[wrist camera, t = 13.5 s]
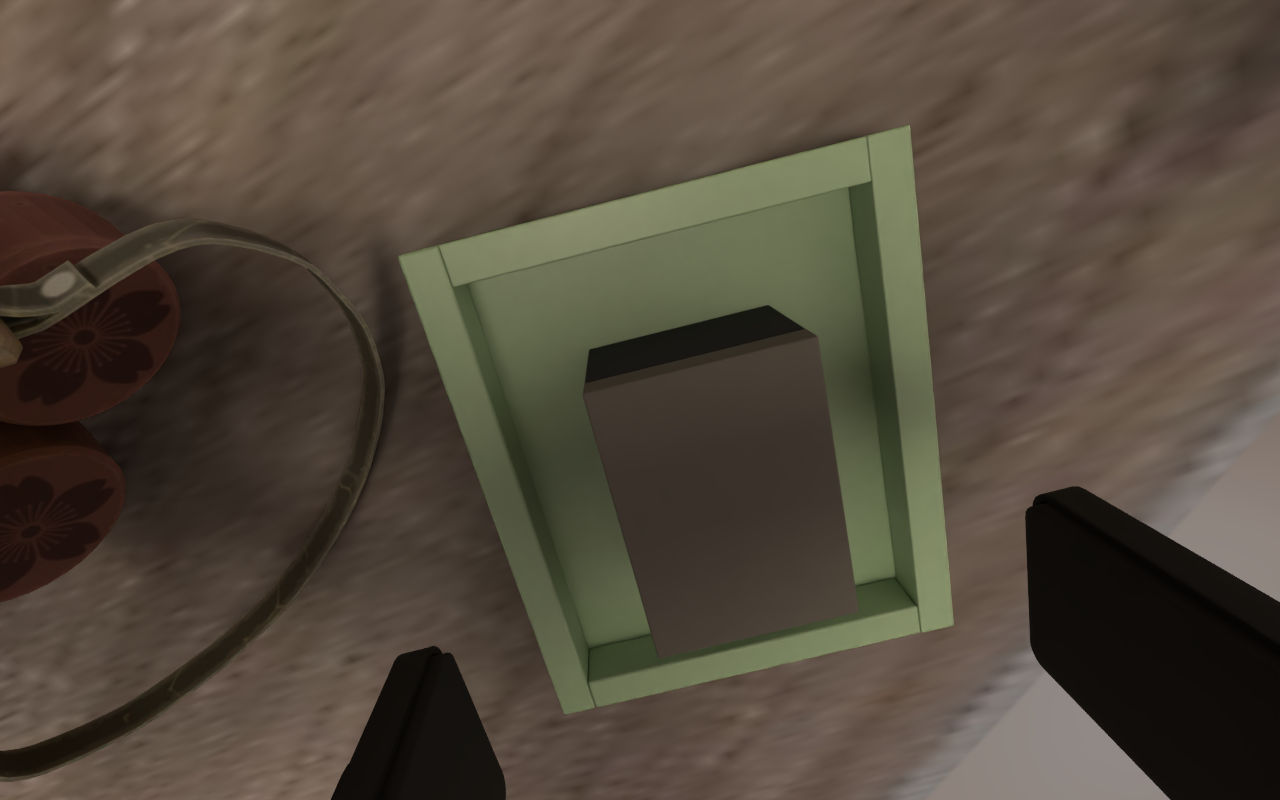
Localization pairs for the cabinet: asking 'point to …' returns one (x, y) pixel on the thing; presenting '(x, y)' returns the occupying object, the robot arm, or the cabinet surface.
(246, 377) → the cabinet surface
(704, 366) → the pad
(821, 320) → the rectangular tray
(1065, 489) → the robot arm
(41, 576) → the binoculars
